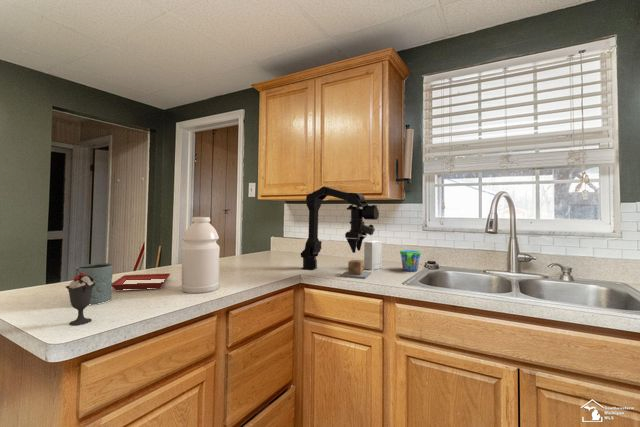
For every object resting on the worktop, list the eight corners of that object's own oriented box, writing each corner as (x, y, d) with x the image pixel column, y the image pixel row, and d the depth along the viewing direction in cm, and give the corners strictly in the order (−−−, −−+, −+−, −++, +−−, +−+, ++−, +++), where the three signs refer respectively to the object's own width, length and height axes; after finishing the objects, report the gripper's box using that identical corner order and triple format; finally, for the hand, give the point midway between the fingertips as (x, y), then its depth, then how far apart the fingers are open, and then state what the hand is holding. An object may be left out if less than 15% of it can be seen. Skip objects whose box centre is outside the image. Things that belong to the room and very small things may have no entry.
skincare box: (373, 267, 173) (374, 240, 172) (382, 268, 168) (382, 241, 168) (363, 268, 167) (363, 241, 167) (371, 270, 163) (372, 242, 162)
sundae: (67, 328, 80) (68, 270, 80) (62, 322, 85) (62, 267, 85) (98, 322, 85) (98, 267, 85) (92, 316, 90) (92, 264, 90)
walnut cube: (348, 274, 149) (348, 261, 149) (351, 271, 154) (351, 259, 154) (360, 275, 147) (360, 262, 146) (363, 272, 152) (363, 260, 152)
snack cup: (403, 267, 174) (403, 248, 174) (423, 268, 169) (423, 250, 169) (396, 271, 160) (396, 252, 160) (417, 274, 155) (418, 253, 155)
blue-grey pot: (106, 304, 100) (106, 267, 100) (69, 307, 98) (69, 269, 97) (117, 296, 110) (117, 262, 110) (83, 298, 107) (83, 263, 107)
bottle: (202, 295, 113) (202, 217, 112) (172, 291, 118) (173, 217, 117) (226, 286, 126) (227, 217, 126) (199, 283, 131) (199, 216, 130)
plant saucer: (170, 280, 138) (170, 272, 138) (163, 290, 120) (163, 281, 120) (123, 282, 132) (123, 274, 132) (109, 293, 115) (109, 284, 115)
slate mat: (340, 276, 147) (340, 274, 147) (347, 271, 158) (347, 270, 158) (365, 278, 143) (365, 277, 143) (371, 273, 154) (371, 272, 154)
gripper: (369, 220, 138) (368, 255, 139) (377, 219, 156) (376, 250, 156) (344, 219, 142) (344, 253, 143) (355, 218, 160) (355, 249, 160)
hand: (356, 251), depth 150 cm, fingers open, 9 cm apart
